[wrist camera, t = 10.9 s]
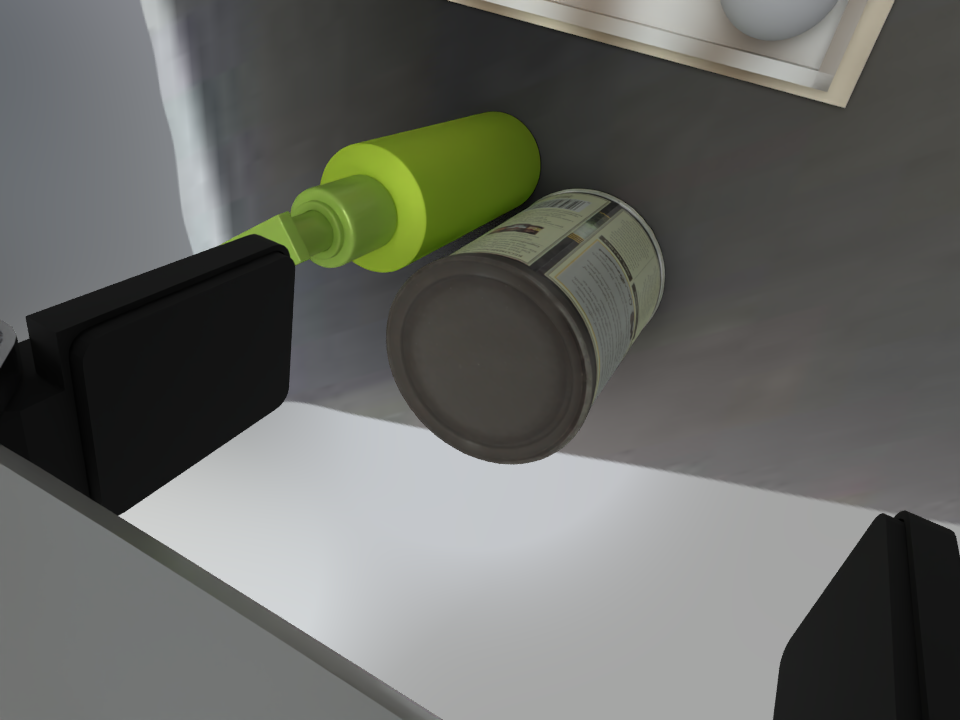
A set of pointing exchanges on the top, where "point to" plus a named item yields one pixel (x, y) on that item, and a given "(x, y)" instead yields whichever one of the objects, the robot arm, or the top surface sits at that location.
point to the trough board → (720, 39)
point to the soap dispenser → (409, 193)
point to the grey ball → (776, 16)
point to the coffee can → (525, 325)
